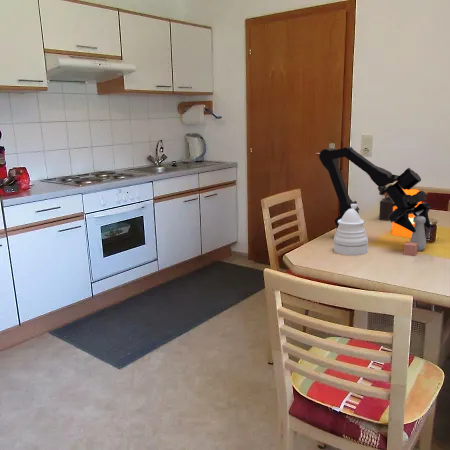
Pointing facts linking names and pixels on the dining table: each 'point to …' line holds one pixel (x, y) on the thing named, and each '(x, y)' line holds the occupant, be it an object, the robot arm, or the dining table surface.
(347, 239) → the honey pot
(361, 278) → the dining table surface
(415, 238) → the salt shaker
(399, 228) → the orange juice
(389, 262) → the dining table surface
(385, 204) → the coffee grinder
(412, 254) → the cube
